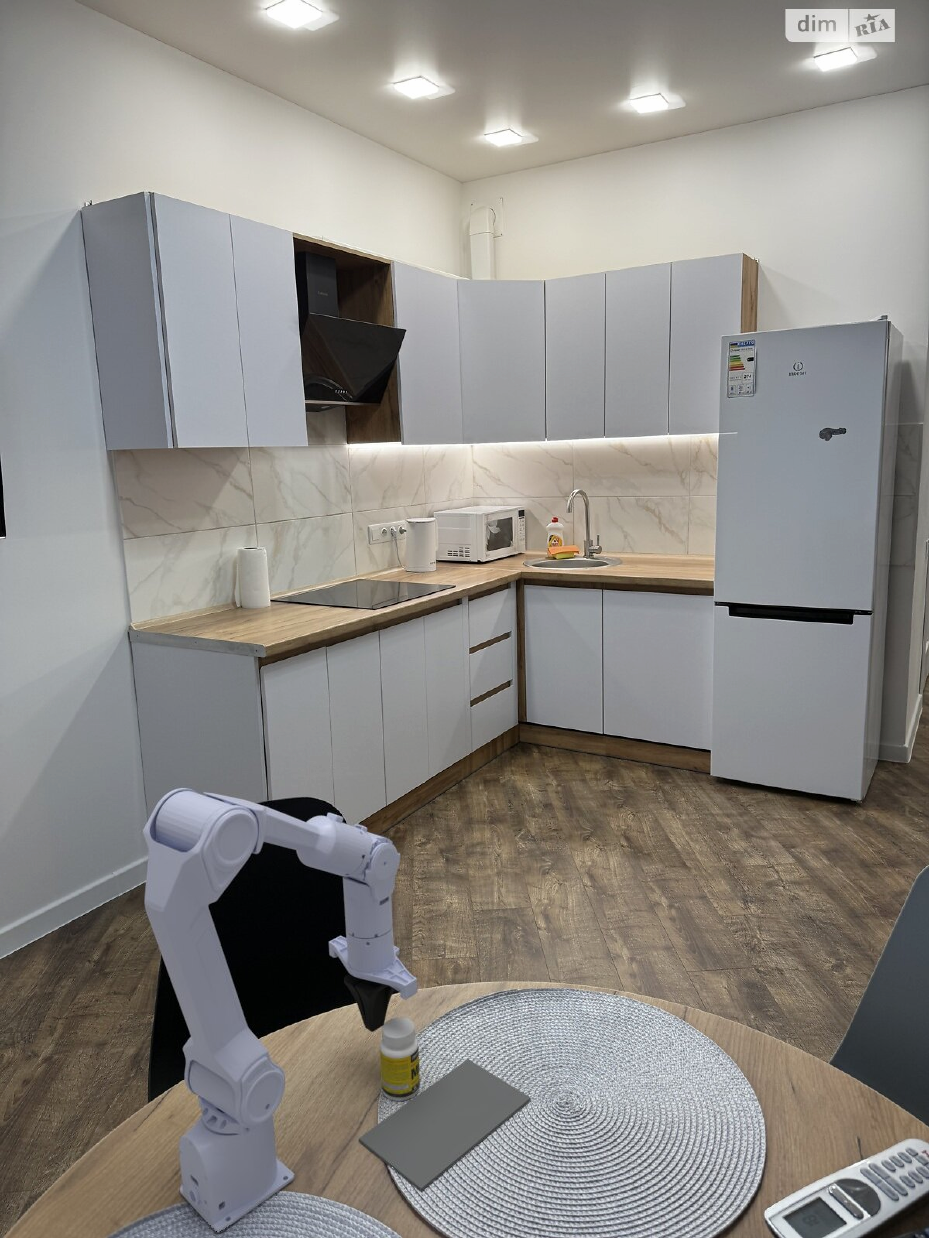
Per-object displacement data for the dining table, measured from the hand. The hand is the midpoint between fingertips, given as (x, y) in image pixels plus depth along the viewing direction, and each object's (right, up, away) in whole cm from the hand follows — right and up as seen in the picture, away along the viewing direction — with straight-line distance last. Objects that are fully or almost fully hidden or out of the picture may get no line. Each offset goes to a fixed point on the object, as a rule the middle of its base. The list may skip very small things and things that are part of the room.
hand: (374, 1026), depth 111 cm
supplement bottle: (+3, -7, -2) cm, 8 cm away
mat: (+9, -8, -7) cm, 14 cm away
